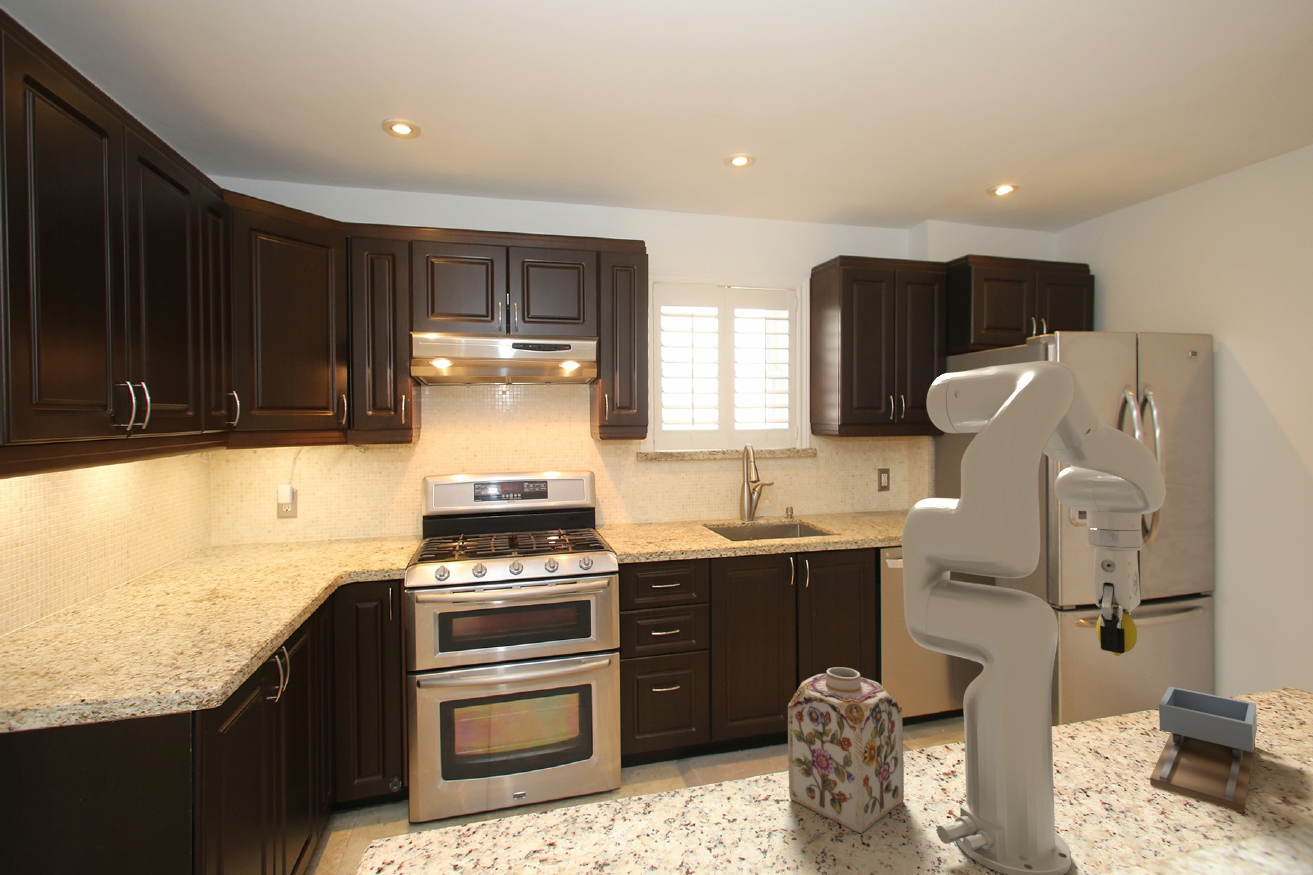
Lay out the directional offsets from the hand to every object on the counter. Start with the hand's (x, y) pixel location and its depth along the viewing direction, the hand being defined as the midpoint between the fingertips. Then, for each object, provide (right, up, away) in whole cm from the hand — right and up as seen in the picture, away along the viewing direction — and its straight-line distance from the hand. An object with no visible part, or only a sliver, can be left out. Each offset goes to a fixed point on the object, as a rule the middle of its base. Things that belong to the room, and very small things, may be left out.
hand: (1116, 646), depth 106 cm
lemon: (0, -2, 0) cm, 2 cm away
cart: (+10, -13, -6) cm, 18 cm away
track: (+7, -15, -9) cm, 19 cm away
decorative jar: (-51, -16, -18) cm, 56 cm away
